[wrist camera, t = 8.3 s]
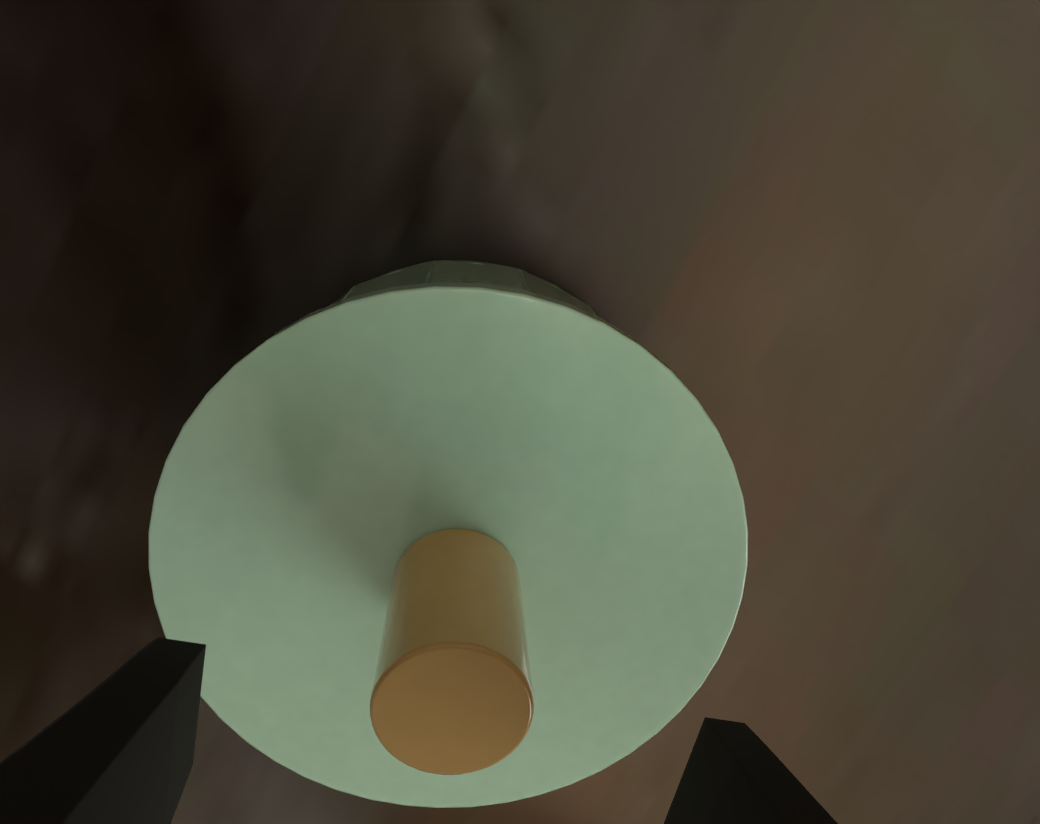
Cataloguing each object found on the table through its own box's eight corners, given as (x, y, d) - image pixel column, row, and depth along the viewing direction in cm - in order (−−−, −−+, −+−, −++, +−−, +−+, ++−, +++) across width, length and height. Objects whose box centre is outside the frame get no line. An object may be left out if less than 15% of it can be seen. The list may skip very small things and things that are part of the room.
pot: (210, 527, 20) (112, 672, 15) (364, 183, 18) (316, 201, 12) (536, 659, 22) (558, 828, 17) (720, 372, 20) (818, 461, 14)
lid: (93, 662, 15) (-50, 859, 11) (305, 156, 12) (218, 163, 8) (563, 828, 18) (592, 1042, 13) (838, 438, 15) (987, 558, 10)
